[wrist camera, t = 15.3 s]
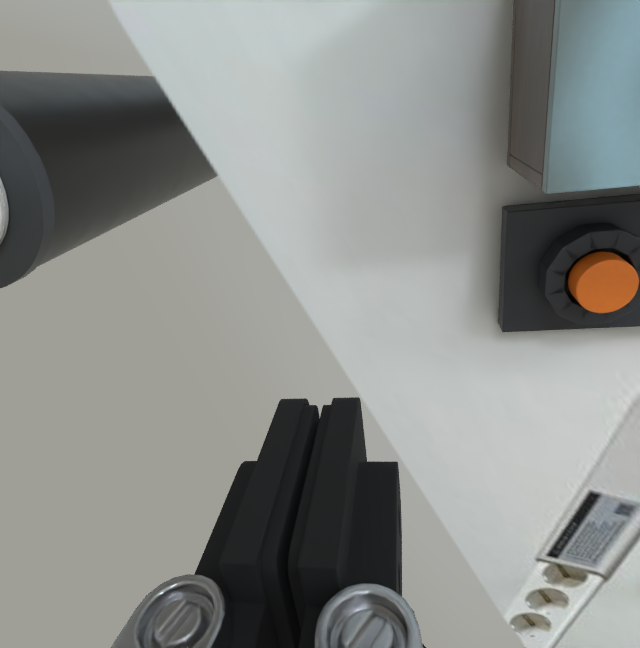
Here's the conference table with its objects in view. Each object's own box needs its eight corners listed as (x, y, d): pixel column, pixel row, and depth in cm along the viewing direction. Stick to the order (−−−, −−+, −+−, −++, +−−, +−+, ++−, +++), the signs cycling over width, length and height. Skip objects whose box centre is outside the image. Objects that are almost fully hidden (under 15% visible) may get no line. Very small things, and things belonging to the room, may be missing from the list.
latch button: (565, 304, 33) (573, 315, 31) (570, 253, 31) (578, 262, 30) (623, 301, 32) (634, 312, 30) (631, 248, 30) (643, 257, 29)
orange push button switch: (498, 322, 37) (506, 344, 34) (502, 206, 33) (512, 218, 30) (655, 315, 35) (680, 337, 32) (679, 190, 31) (710, 201, 28)
